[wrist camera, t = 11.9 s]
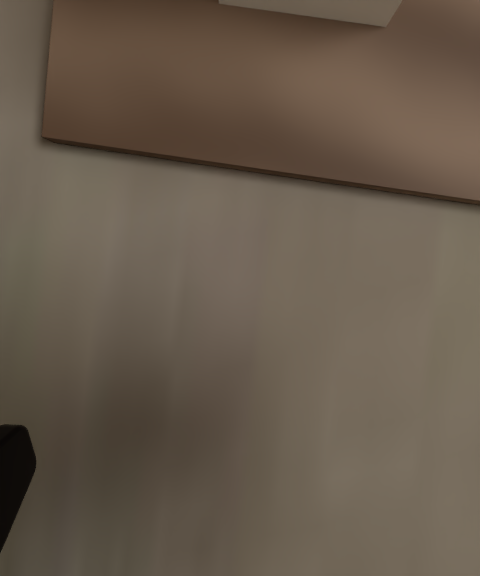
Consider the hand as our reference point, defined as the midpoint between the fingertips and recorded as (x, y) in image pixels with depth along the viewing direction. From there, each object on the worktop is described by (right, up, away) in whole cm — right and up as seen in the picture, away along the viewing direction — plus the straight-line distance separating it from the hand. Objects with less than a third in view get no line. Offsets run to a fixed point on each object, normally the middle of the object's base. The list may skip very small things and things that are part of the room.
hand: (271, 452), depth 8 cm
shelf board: (+2, +14, +9) cm, 16 cm away
